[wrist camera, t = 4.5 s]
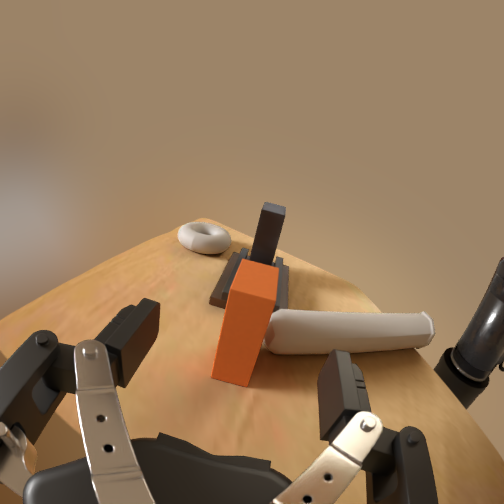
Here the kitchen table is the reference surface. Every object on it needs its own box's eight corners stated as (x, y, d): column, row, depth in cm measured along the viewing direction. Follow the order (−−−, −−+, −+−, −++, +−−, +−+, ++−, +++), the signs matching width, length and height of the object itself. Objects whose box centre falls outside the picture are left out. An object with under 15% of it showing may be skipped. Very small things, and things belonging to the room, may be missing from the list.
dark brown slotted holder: (286, 272, 50) (304, 212, 46) (284, 324, 35) (312, 243, 31) (232, 257, 51) (245, 196, 46) (208, 304, 36) (225, 220, 32)
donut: (230, 242, 58) (183, 231, 57) (234, 226, 57) (185, 215, 56) (227, 263, 49) (170, 249, 48) (231, 244, 47) (173, 231, 46)
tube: (273, 340, 26) (440, 334, 32) (266, 296, 30) (426, 305, 36) (258, 364, 29) (417, 354, 35) (253, 324, 33) (405, 326, 39)
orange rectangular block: (254, 348, 30) (279, 267, 26) (247, 387, 24) (276, 300, 21) (223, 339, 30) (242, 258, 26) (210, 377, 25) (229, 288, 21)
